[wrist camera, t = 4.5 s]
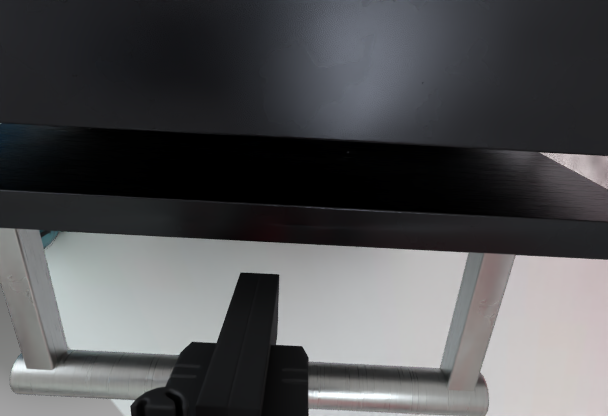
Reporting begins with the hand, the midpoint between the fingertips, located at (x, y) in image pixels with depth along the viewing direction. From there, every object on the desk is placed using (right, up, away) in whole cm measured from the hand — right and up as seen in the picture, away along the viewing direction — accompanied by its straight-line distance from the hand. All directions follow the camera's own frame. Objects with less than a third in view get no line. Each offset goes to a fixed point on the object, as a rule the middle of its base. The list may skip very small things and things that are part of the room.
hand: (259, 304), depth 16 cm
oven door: (0, +7, +12) cm, 14 cm away
